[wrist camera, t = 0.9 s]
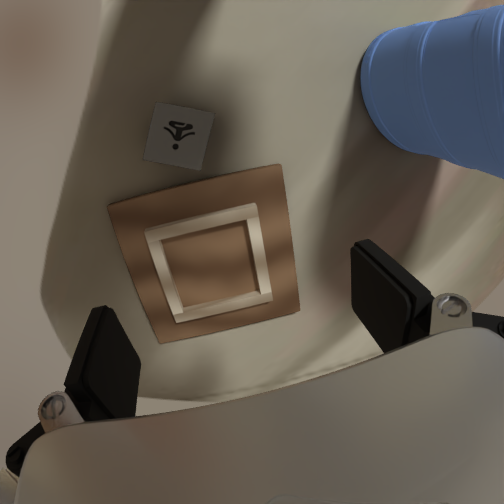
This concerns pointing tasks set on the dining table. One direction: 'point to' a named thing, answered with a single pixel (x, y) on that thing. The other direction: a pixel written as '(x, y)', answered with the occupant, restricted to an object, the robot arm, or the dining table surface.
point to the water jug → (441, 88)
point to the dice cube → (178, 136)
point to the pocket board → (210, 252)
